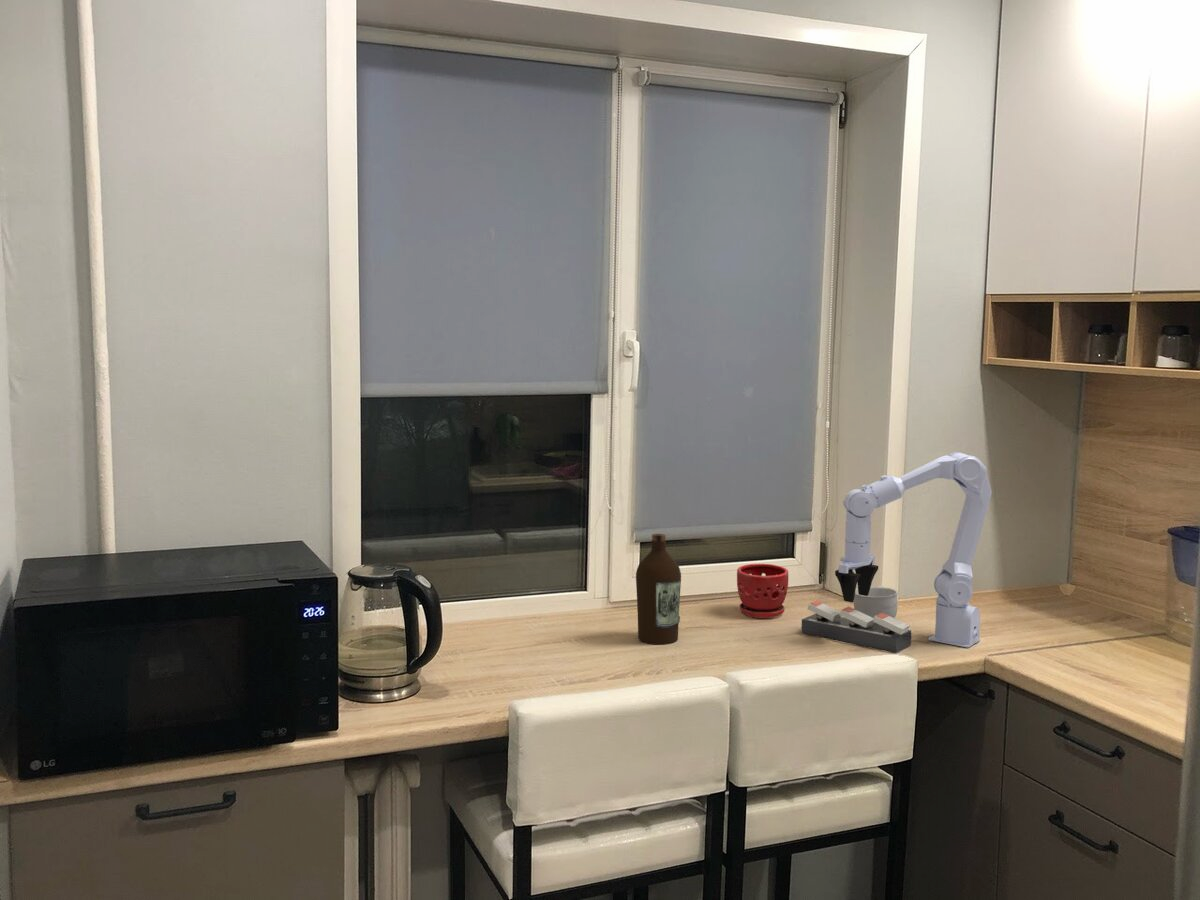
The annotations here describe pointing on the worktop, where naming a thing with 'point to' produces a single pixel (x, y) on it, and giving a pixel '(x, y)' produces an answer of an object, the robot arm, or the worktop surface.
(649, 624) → the olive oil
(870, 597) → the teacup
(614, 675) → the worktop surface
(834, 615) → the rocker
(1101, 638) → the worktop surface
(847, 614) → the block
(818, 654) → the worktop surface
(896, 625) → the block
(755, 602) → the plant pot
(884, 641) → the switch panel
